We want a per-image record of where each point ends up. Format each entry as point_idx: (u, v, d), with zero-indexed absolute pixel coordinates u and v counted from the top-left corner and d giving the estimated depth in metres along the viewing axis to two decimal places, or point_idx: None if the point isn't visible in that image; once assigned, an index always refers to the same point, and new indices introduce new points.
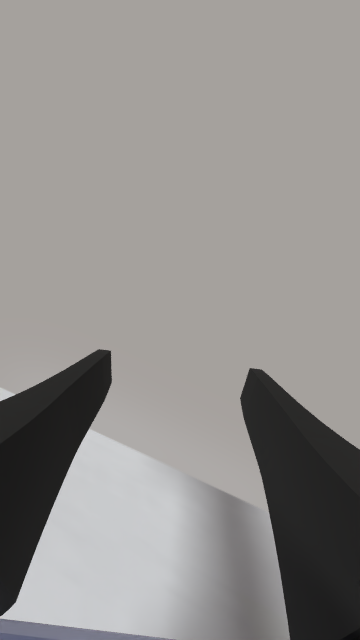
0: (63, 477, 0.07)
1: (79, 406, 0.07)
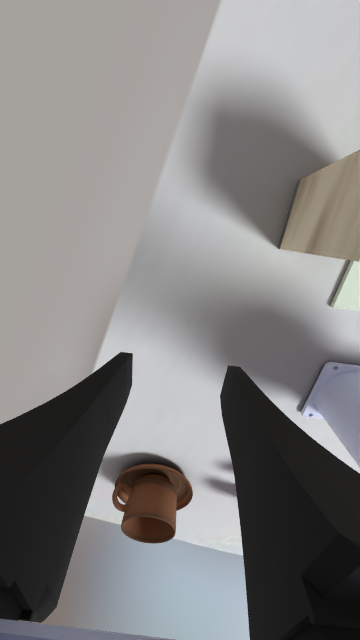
0: (93, 481, 0.07)
1: (108, 410, 0.07)
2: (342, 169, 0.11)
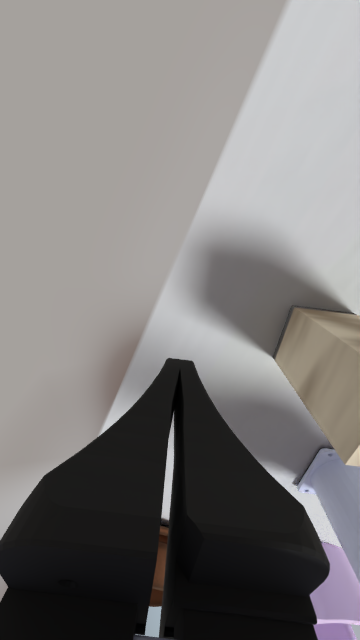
0: None
1: (170, 417, 0.07)
2: (331, 345, 0.11)
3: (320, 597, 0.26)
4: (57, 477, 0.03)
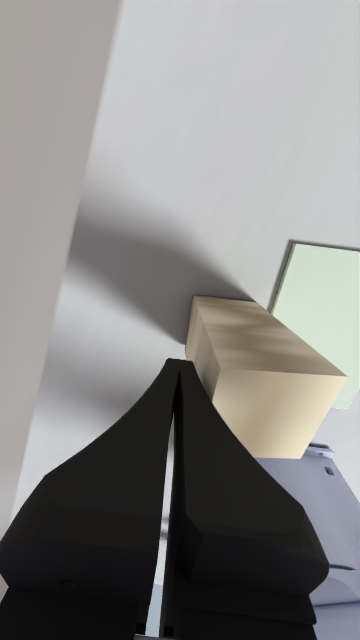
0: None
1: None
2: (201, 332, 0.11)
3: None
4: (57, 477, 0.03)
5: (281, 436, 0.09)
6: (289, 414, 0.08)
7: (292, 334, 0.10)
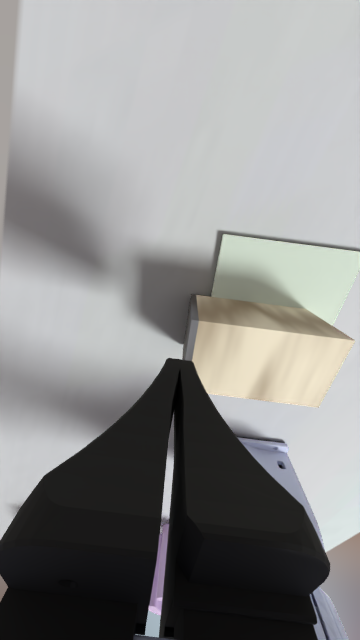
0: None
1: (170, 417, 0.07)
2: (282, 341, 0.11)
3: None
4: (56, 477, 0.03)
5: None
6: None
7: (264, 304, 0.15)
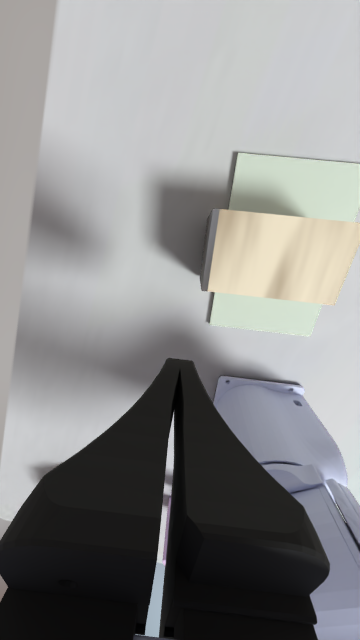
0: None
1: (170, 417, 0.07)
2: (298, 228, 0.12)
3: None
4: (56, 477, 0.03)
5: None
6: None
7: None
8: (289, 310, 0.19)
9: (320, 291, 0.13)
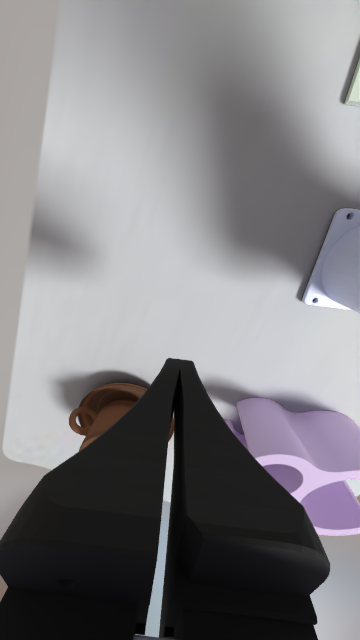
0: None
1: (170, 417, 0.07)
2: None
3: (329, 453, 0.20)
4: (56, 477, 0.03)
5: None
6: None
7: None
8: None
9: None
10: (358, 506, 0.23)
